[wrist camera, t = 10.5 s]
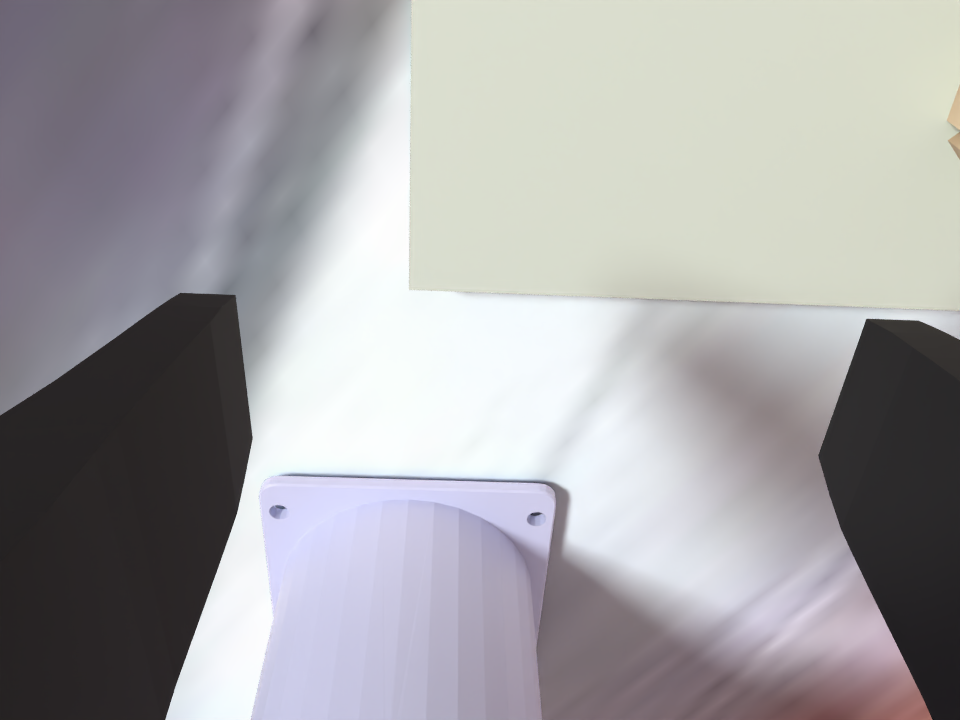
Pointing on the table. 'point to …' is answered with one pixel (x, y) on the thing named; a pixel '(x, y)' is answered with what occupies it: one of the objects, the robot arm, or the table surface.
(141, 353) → the robot arm
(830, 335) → the table surface
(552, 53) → the board
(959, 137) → the bead
